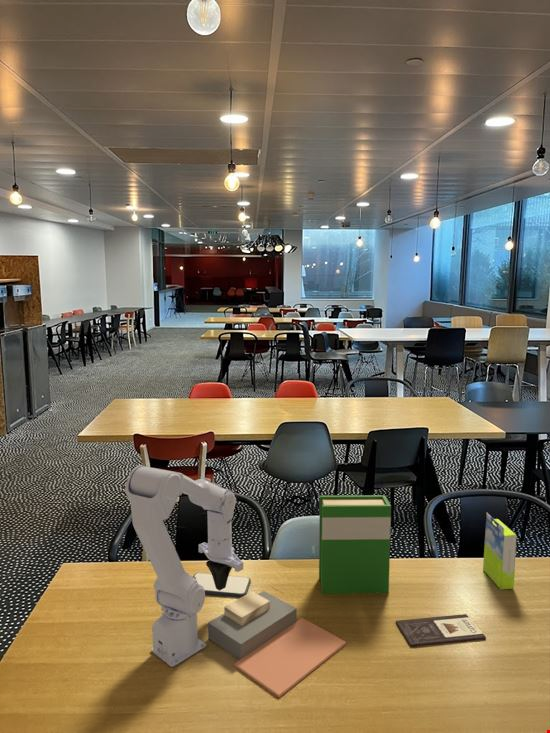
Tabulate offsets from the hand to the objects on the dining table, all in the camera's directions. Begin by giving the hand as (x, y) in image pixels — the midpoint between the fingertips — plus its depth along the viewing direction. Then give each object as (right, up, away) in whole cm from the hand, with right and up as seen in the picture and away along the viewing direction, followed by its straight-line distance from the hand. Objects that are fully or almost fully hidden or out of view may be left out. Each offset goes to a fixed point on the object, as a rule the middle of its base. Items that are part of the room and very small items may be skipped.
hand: (220, 588), depth 132 cm
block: (+8, -7, -7) cm, 13 cm away
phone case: (-2, -5, +12) cm, 13 cm away
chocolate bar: (+52, -8, -7) cm, 53 cm away
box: (+75, -4, +15) cm, 76 cm away
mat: (+17, -8, -15) cm, 24 cm away
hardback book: (+34, -5, +12) cm, 37 cm away
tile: (+7, -2, -6) cm, 10 cm away
